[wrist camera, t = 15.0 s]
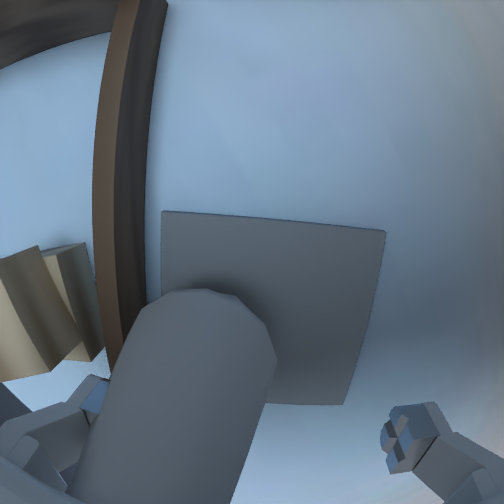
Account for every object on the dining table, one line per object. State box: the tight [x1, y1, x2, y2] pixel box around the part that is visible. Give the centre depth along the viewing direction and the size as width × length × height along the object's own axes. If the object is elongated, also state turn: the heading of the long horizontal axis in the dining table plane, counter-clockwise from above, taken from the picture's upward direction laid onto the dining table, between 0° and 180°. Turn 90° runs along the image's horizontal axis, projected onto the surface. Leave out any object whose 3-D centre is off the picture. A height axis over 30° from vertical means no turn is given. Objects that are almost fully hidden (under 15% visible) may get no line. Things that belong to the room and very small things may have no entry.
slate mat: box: [161, 211, 386, 405], centre depth 14 cm, size 10×10×1 cm
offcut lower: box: [0, 243, 105, 362], centre depth 14 cm, size 10×6×3 cm, turn 98°
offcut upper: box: [0, 245, 84, 382], centre depth 11 cm, size 9×5×3 cm, turn 113°
